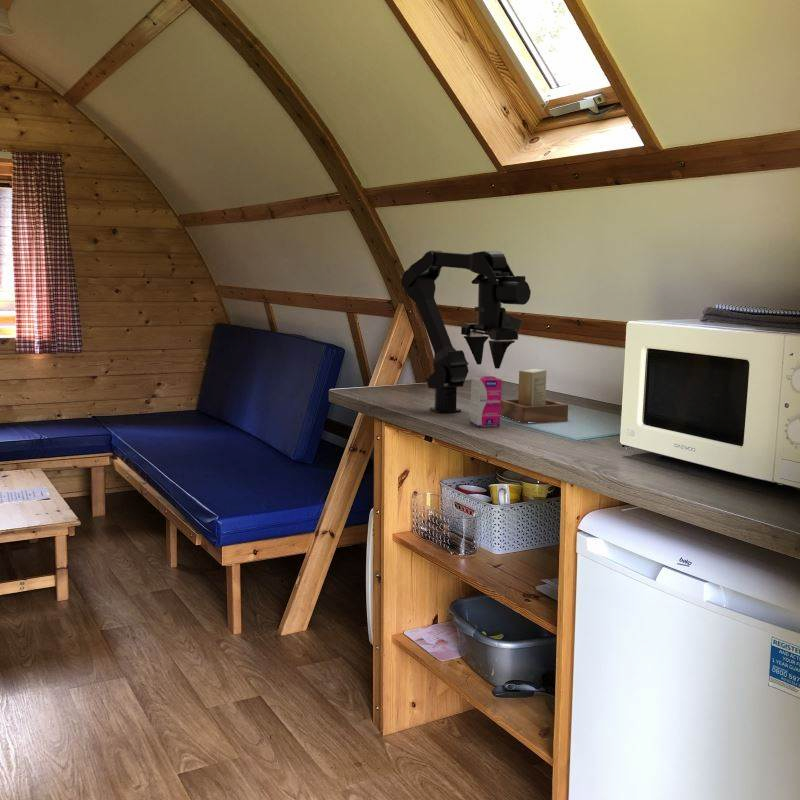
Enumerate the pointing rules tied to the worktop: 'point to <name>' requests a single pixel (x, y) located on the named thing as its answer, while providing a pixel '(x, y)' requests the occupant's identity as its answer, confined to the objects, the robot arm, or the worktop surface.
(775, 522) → the worktop surface
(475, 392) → the supplement box
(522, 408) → the shallow wooden tray
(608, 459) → the worktop surface
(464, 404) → the worktop surface
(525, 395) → the skincare box
